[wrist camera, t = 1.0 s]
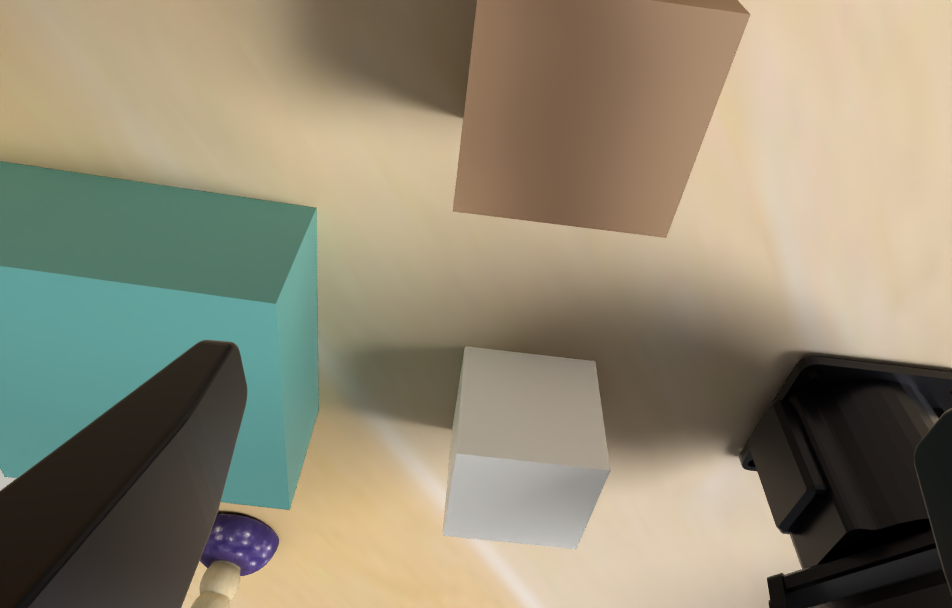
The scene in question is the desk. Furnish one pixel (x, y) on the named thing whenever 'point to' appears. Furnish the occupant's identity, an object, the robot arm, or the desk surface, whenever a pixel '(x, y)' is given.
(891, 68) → the desk surface
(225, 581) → the toy lamp
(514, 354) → the grey cube
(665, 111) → the walnut cube
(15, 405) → the teal base block
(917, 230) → the desk surface
